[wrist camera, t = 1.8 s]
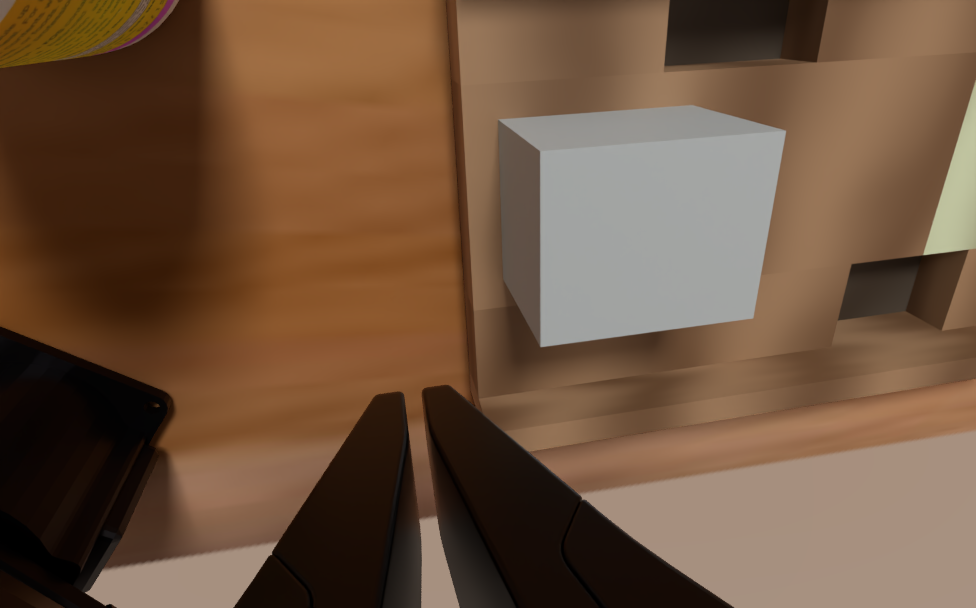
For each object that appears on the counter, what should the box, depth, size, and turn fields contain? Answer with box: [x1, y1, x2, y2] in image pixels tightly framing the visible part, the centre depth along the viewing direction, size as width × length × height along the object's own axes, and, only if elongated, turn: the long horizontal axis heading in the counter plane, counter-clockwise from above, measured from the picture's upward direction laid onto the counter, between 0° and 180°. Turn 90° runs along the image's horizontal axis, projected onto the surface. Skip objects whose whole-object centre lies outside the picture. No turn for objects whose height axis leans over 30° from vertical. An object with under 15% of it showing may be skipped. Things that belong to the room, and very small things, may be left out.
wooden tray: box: [446, 0, 976, 452], centre depth 20 cm, size 24×16×5 cm, turn 92°
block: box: [498, 105, 786, 347], centre depth 17 cm, size 6×5×4 cm
